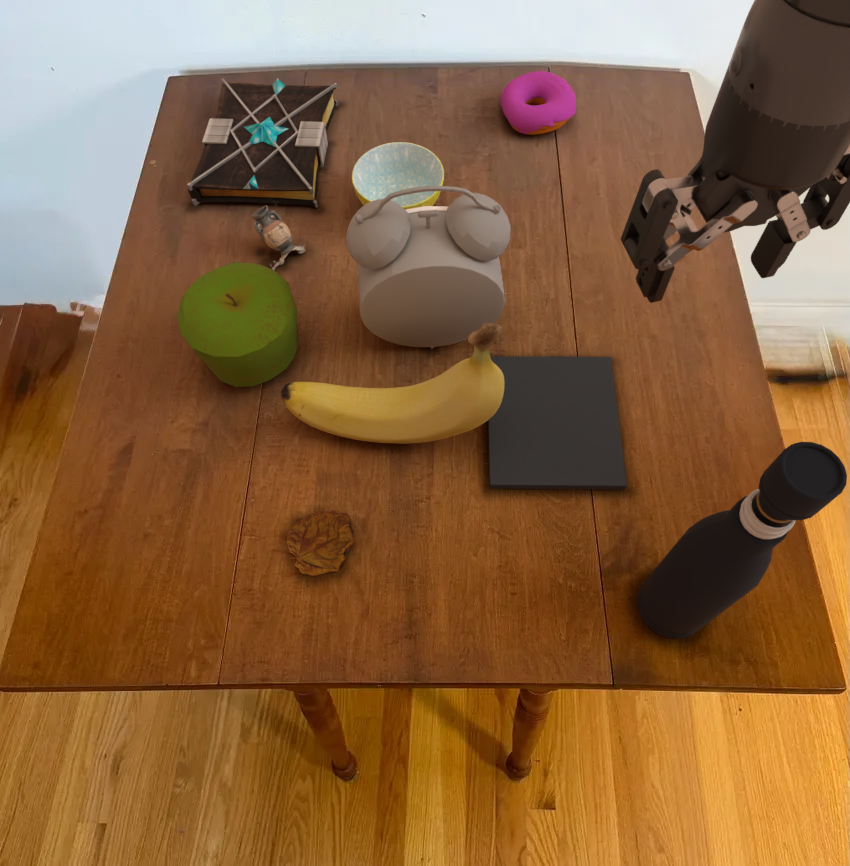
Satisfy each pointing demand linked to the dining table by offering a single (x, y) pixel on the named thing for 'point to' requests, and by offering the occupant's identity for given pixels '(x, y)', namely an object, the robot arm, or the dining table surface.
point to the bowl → (398, 174)
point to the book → (264, 144)
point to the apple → (241, 322)
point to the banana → (407, 401)
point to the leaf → (321, 542)
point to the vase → (274, 232)
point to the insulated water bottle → (737, 542)
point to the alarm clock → (429, 267)
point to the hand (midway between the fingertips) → (705, 280)
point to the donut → (538, 102)
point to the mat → (556, 425)
